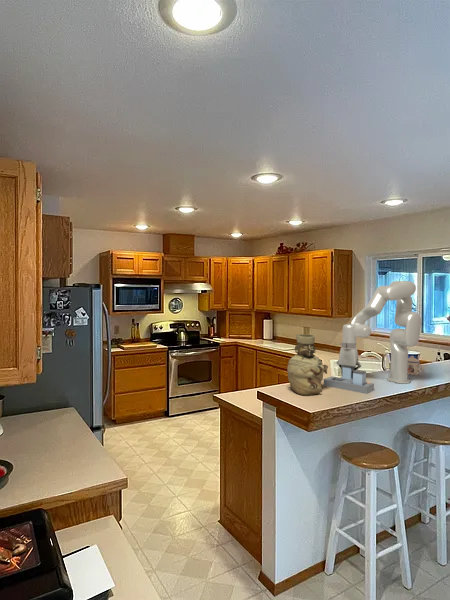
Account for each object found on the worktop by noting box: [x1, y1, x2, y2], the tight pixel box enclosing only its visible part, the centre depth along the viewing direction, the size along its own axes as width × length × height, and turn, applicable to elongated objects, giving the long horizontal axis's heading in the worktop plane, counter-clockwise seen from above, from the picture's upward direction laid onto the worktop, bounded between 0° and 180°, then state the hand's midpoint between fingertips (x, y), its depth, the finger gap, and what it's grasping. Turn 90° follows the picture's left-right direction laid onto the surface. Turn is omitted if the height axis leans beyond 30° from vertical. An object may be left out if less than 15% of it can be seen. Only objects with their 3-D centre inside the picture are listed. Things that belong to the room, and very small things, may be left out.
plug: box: [341, 365, 353, 380], centre depth 229 cm, size 5×5×10 cm
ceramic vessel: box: [286, 333, 329, 396], centre depth 211 cm, size 19×21×30 cm
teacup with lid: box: [407, 355, 424, 376], centre depth 257 cm, size 12×9×12 cm
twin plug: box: [353, 369, 367, 385], centre depth 211 cm, size 5×5×10 cm
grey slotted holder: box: [323, 375, 375, 395], centre depth 215 cm, size 10×24×5 cm, turn 49°
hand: (348, 376), depth 229 cm, fingers closed on plug, 5 cm apart
